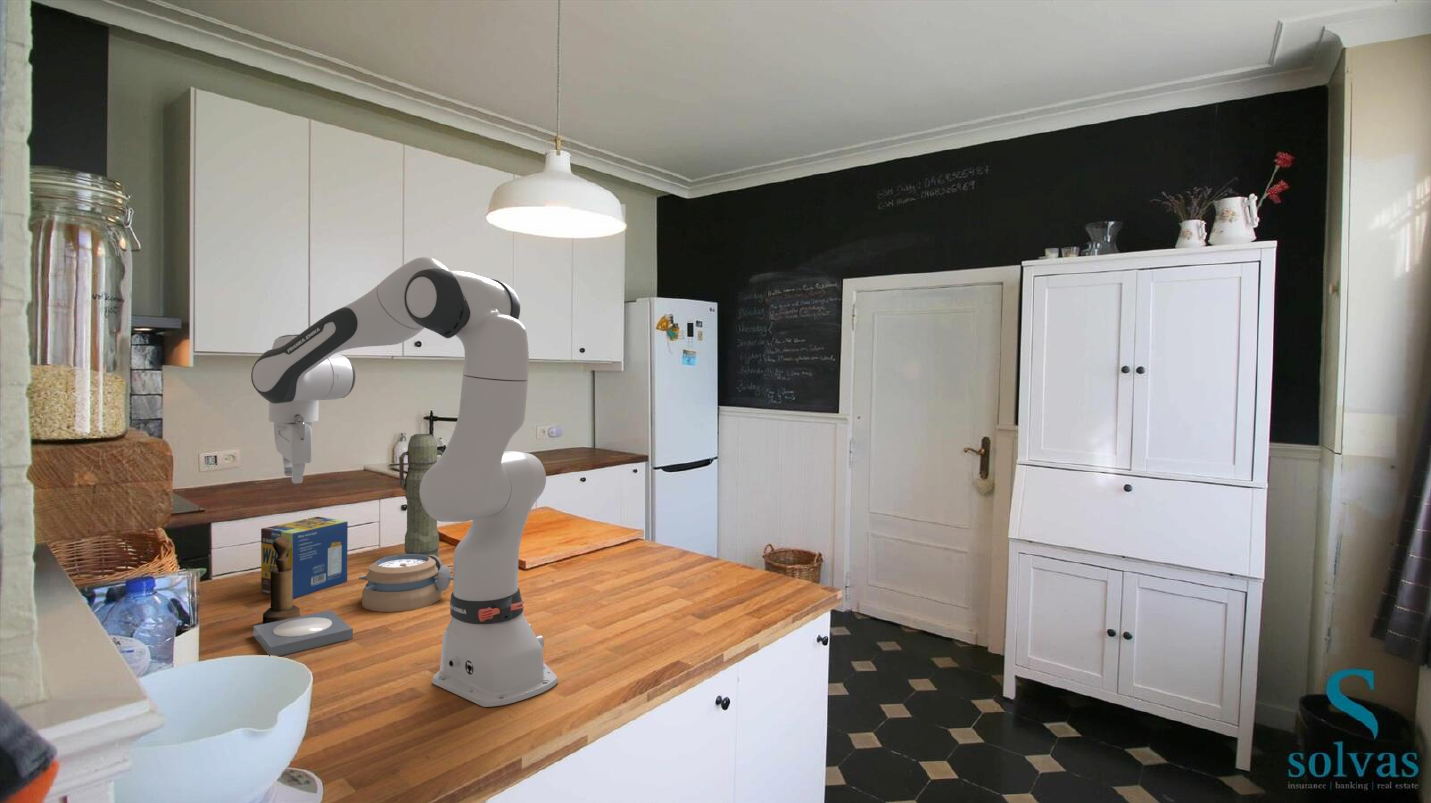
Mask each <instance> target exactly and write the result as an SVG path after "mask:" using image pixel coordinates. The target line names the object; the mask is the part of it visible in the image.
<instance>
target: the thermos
mask: <svg viewBox="0 0 1431 803" xmlns="http://www.w3.org/2000/svg"><path fill="white" fill-rule="evenodd" d="M437 443H438V442H437V440H436V438H435V435H433V434H430V433H416V434H413V435H410V438H409V441H408V444H407V450H406V451H404V452H402V453H401V455H400V456H399V457H398V460H399V461H398V462H399V464H398V467H399V471H398V472H399V477H398V478H399V479H398V480H399V482H398V486H399V487H400V489H402V490H403V491H404V498H405V499H406V532H405V534H404V552H405V554H419V555H425V556H429V555H434V556H437V557H438V558H439V549H440V534H439V532H438V521H437V520H435V519H433V518H432V517H430V516H429V515H428V513H427V512H426V511H425V509H424V508H423V506H422V503H421V500H420V484H421V481H422V478H423V476H424V474H425V473H426V472H427V471H428V470H429V469H430V468H431V467H432V466H433V465H434V464H435V463H436V462H437V461H438V455H440V456H441V455H442V454H443V452H444V451H442V450H439V449H438V445H437ZM406 456H407V463H408V465H407V466H408V467H407V472H406V475H404V472H405V471H404V470H405V466H404V463H405V462H404V460H405V457H406ZM404 477H405V478H404Z"/></svg>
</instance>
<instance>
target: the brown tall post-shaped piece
mask: <svg viewBox="0 0 1431 803" xmlns="http://www.w3.org/2000/svg"><path fill="white" fill-rule="evenodd" d="M289 545H290V541H289V539H288V538H287V537H278V538H276V539H275V540H274V542H273V548H274V549H275V551H276V552H277V555H278V556H277V558H276V559H275V562H276V565H277V568H276V569H273V570H271V595H270V607H269V608H268V609H267V610H266V611H264V612H263V613H262V624H266V623H271V622H276V621H281V620H286V619H291V618H295V617H300V616H301V609H300V607H298V606H297V605H296V604H293V600H294V599H292V568H290V567H286V565H287V561H288V557H286V551H287V549H288V547H289Z"/></svg>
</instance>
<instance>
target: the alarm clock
mask: <svg viewBox="0 0 1431 803" xmlns="http://www.w3.org/2000/svg"><path fill="white" fill-rule="evenodd" d="M451 568H454V564H451V565H445V564H443V562H442V560H441V558H439V556H438V557H437V556H434V555H429V556H425V555H419V554H406V553H404V554H403V553H402V554H395V555H390V556H389V555H388V556H385V557H382V558H380V559H378V560H376V561H375V562H372V563H371V564H370V565H369V567H368V572H367V573H366V574H365V575H366V576H358V580H362V581H364V580H365V581H367V583H366V584H365V587H364V588H363V590H362V592H361V606H362V607H363V608H365V609H366V610H370V611H372V612H383V613H393V612H394V613H395V612H397V613H398V612H406V611H412V610H416V609H422V608H425V607H428V606H431V605H433V604H435V603H437V602H439V601H440V600H441V598H442V597H443V592H444V591H446V590H447V589H448V588H449V586H450V584H451V581H453V575H452V574H453V570H452V569H451Z"/></svg>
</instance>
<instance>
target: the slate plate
mask: <svg viewBox="0 0 1431 803" xmlns="http://www.w3.org/2000/svg"><path fill="white" fill-rule="evenodd" d="M252 628H253V633H252V634H253V638H254V639H255V641H256V642H257V643H258V644H259V645H260V646H261V648H262V649H263V650H264V652H265V653H267V655H268V656H269V655H277V657H281V656H286V655H290V654H293V653H294V654H295V653H298V652H303V651H307V650H310V649H315V648H319V647H322V646H328V645H331V644H335V643H340V642H345V641H348V640H352V639H354V628H353V627H351V626H350V625H349V624H348V623H347V622H346V621H344V619H342V618H341V617H340V616H339V615H337V613H334V611H333V610H332V609H331V610H325V611H321V612H316V613H310V614H307V615H302V616H301V615H300V617H295V618H291V619H286V620H281V621H276V622H271V623H266V624H263V623H261V624H257V625H253V626H252ZM285 654H286V655H285Z"/></svg>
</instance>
